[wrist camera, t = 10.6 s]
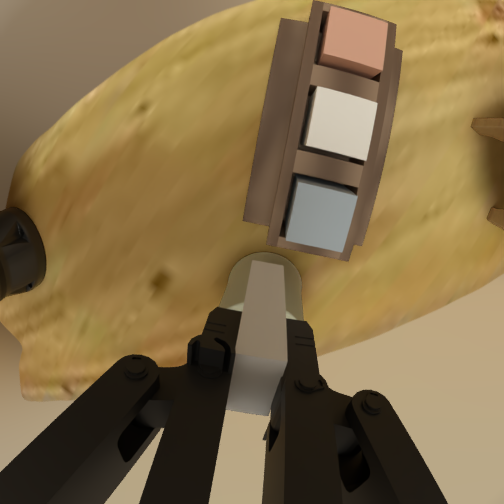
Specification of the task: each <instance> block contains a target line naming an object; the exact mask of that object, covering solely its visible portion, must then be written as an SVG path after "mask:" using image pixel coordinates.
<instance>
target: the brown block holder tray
mask: <svg viewBox="0 0 504 504" xmlns="http://www.w3.org/2000/svg"><path fill="white" fill-rule="evenodd" d="M331 6H334V7H338V8H341V9H345V10H349V11H352V12H356V13H359V14H362V15H366V16H369V17H372V18H375V19H378V20H381V21H383V22H386V23H388V29H387V39H386V49H385V57H384V65H383V71H382V72H380V73H379V74H377V75H376V76H374V77H373V78H371V79H367V78H364V77H361V76H357V75H354V74H350V73H347V72H343V71H340V70H336V69H332V68H328V67H324V66H320V65H316V64H317V58H318V52H319V46H320V41H321V35H322V30H323V27H324V24H325V21H326V19H327V16H328V13H329V10H330V7H331ZM395 36H396V24H394V23H391V22H389V21H386V20H383V19H380V18H377V17H375V16H372V15H368V14H365V13H362V12H359V11H355V10H352V9H348V8H345V7H341V6H337V5H333V4H329V3H325V2H320V1H315V0H313V3H312V8H311V13H310V18H309V22H308V23H307V22H302V21H297V20H291V19H285V18H281V21H280V26H279V31H278V36H277V41H276V46H275V51H274V56H273V61H272V66H271V71H270V76H269V81H268V86H267V91H266V97H265V102H264V107H263V112H262V118H261V123H260V128H259V134H258V139H257V144H256V150H255V155H254V161H253V166H252V172H251V177H250V183H249V188H248V194H247V200H246V205H245V211H244V217H243V221H246V222H251V223H256V224H261V225H266V226H269V230H268V236H267V242H266V245H271V246H276V247H281V248H285V249H290V250H295V251H300V252H305V253H310V254H314V255H319V256H324V257H329V258H334V259H338V260H343V261H349V258H350V255H351V252H352V248H353V245H358V246H362V244H363V241H364V238H365V234H366V231H367V228H368V224H369V221H370V217H371V214H372V210H373V206H374V202H375V199H376V195H377V191H378V187H379V183H380V179H381V175H382V170H383V166H384V162H385V157H386V153H387V148H388V143H389V138H390V133H391V128H392V122H393V117H394V111H395V105H396V99H397V92H398V85H399V78H400V70H401V62H402V52H403V51H402V50H399V49H397V48H394V47H395ZM317 86H319V87H323V88H327V89H331V90H335V91H339V92H343V93H346V94H350V95H353V96H357V97H360V98H363V99H367V100H370V101H373V102H376V103H378V104H377V110H376V116H375V121H374V126H373V131H372V136H371V141H370V146H369V151H368V156H367V160H366V161H365V160H361V159H357V158H353V157H349V156H345V155H341V154H337V153H333V152H329V151H325V150H321V149H317V148H313V147H308V146H304V145H301V143H302V138H303V133H304V128H305V123H306V117H307V112H308V107H309V102H310V98H311V96H312V94H313V93H314V91H315V89H316V88H317ZM295 174H299V175H304V176H308V177H313V178H317V179H321V180H326V181H330V182H334V183H338V184H342V185H344V186H345V187H346V188H348V189H349V190H350V191H352V192H353V193H354V194H356V195H357V196H358V198H357V202H356V206H355V209H354V213H353V217H352V221H351V224H350V228H349V231H348V235H347V238H346V242H345V245H344V249H343V252H337V251H333V250H328V249H323V248H319V247H314V246H309V245H304V244H300V243H295V242H290V241H286V233H285V219H286V215H287V210H288V206H289V201H290V196H291V192H292V187H293V182H294V177H295Z"/></svg>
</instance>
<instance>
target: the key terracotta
mask: <svg viewBox="0 0 504 504" xmlns="http://www.w3.org/2000/svg"><path fill="white" fill-rule="evenodd" d="M387 29H388V23H386V22H383V21H381V20H378V19H375V18H372V17H369V16H366V15H362V14H359V13H356V12H352V11H349V10H345V9H341V8H338V7H334V6H331V7H330V10H329V13H328V16H327V19H326V21H325V24H324V27H323V30H322V35H321V41H320V46H319V52H318V58H317V64H316V65H320V66H324V67H328V68H332V69H336V70H340V71H343V72H347V73H350V74H354V75H357V76H361V77H364V78H367V79H371V78H373V77H374V76H376V75H377V74H379V73H380V72H382V71H383V65H384V57H385V49H386V39H387Z"/></svg>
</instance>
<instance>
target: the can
mask: <svg viewBox="0 0 504 504" xmlns="http://www.w3.org/2000/svg"><path fill="white" fill-rule="evenodd" d="M252 260H255V261H261V262H266V263H272V264H277V265H283V266H284V284H285V305H286V318H288V319H295V320H301V321H304V318H303V307H302V295H301V291H302V281H301V277H300V274H299V272H298V270H297V269H296V267H295V266H294V265H293V264H292V263H291V262H290V261H289V260H287V259H286V258H284V257H282V256H280V255H278V254H275V253H270V252H258V253H253V254H250V255H248V256H246V257H244V258H242V259H241V260H240V261H238V262H237V263H236V265H235V266H234V267H233V269H232V270H231V272H230V275H229V279H228V284H227V287H226V290H225V292H224V295H223V297H222V300H221V302H220V305H219V307H221V308H226V309H231V310H237V311H243V306H244V300H245V295H246V290H247V285H248V280H249V274H250V269H251V264H252Z"/></svg>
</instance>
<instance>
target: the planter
mask: <svg viewBox="0 0 504 504" xmlns="http://www.w3.org/2000/svg"><path fill="white" fill-rule="evenodd" d="M471 127H472V128H473V129H474V130H475V131H476V132H477V133H478V134H480V135H485V136H489V137H492V138H495V139H498V140H500V141H502V142H504V118H474V119H473V122H472V125H471ZM487 220H488V221H490V222H491V223H492V224H494V225H496V226H498V227H499V228H501V229H503V230H504V209H495V208H493V207H492V208H491V210H490V212H489V215H488V217H487Z"/></svg>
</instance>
